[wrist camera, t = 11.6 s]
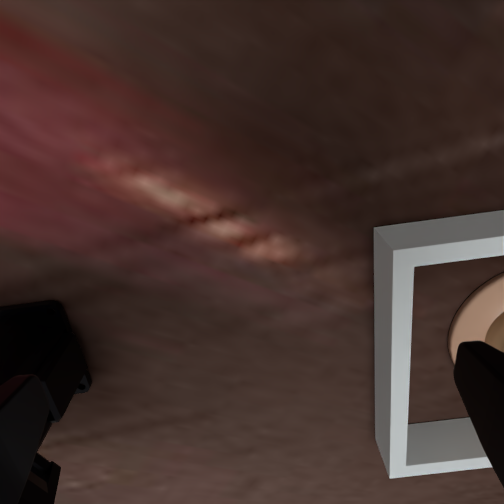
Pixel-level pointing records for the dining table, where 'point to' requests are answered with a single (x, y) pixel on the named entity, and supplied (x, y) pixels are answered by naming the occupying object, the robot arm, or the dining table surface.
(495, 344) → the pepper mill
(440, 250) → the white square frame
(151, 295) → the dining table surface
